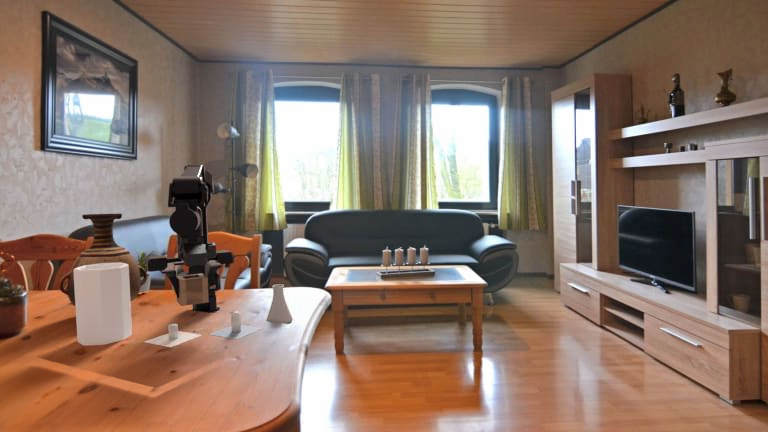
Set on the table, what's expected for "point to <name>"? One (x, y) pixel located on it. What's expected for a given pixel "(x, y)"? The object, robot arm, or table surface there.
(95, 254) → the vase
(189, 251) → the robot arm
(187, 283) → the walnut collar
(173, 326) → the rod stand
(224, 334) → the plate
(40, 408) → the table surface
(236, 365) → the table surface
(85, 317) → the cup
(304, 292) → the table surface
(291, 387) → the table surface
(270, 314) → the flask
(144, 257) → the house plant
